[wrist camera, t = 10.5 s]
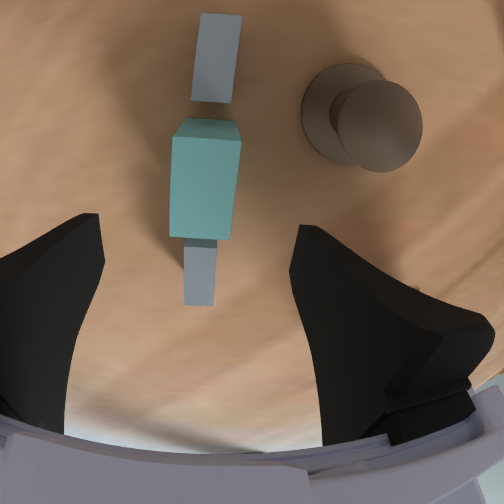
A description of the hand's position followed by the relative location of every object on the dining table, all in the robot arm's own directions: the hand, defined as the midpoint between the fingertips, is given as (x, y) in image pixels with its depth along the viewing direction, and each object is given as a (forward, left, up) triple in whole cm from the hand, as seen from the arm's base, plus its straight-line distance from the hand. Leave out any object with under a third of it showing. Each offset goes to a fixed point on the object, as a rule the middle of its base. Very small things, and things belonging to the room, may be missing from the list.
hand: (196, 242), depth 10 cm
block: (0, 0, -10) cm, 10 cm away
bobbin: (+4, -9, -10) cm, 14 cm away
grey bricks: (0, 0, -10) cm, 10 cm away
